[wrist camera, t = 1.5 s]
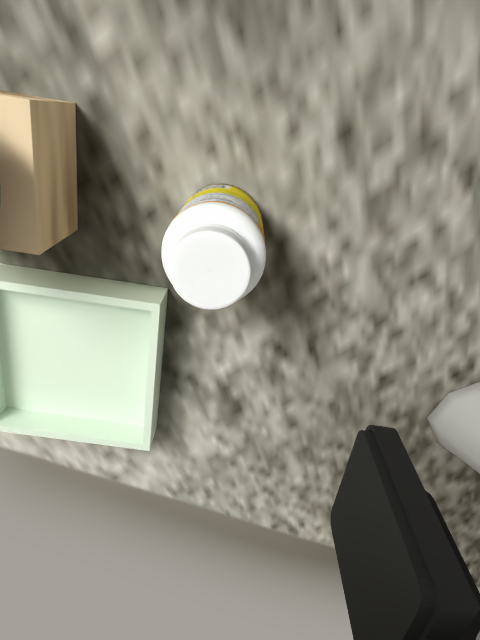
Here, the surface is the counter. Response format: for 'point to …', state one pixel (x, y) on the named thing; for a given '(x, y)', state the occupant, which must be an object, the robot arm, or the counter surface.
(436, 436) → the flask
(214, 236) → the supplement bottle
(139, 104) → the counter surface
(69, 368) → the tray
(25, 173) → the tan box with knob
